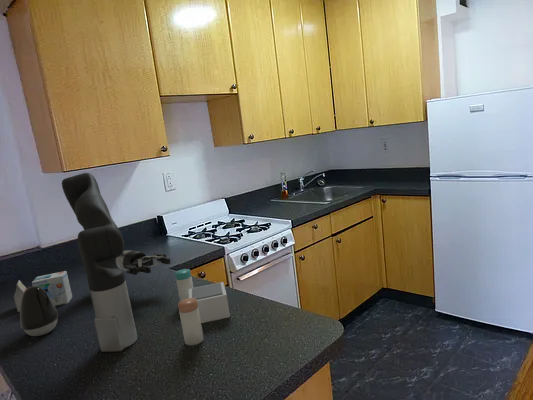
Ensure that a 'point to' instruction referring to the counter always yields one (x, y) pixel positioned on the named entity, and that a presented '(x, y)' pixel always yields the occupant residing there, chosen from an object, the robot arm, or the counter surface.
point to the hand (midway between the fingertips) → (159, 265)
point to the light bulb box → (55, 287)
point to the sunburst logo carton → (19, 294)
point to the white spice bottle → (190, 321)
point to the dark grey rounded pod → (37, 312)
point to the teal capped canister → (184, 283)
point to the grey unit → (211, 301)
